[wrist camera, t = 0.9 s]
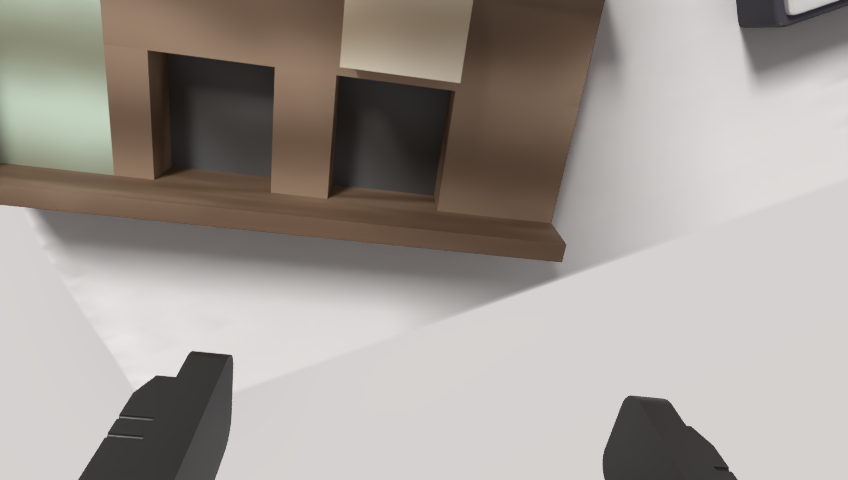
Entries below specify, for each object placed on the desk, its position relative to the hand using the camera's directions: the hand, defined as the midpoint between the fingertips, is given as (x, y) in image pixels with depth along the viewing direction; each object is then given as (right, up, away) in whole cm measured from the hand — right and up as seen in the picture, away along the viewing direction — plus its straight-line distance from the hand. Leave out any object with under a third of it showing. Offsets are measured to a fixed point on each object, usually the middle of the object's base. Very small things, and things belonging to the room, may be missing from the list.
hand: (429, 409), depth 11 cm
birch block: (-1, +15, +15) cm, 21 cm away
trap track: (-8, +13, +19) cm, 24 cm away
